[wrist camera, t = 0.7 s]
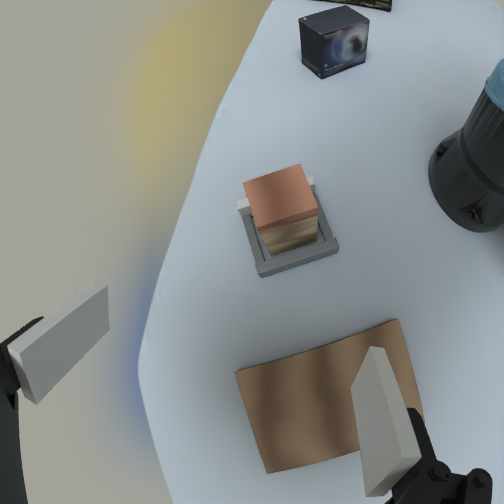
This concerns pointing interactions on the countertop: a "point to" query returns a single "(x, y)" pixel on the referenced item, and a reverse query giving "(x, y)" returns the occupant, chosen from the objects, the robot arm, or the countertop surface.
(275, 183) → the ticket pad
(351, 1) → the network switch
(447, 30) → the countertop surface
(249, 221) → the frame
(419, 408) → the walnut board
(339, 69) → the small box
